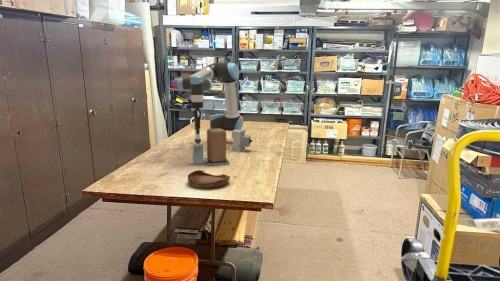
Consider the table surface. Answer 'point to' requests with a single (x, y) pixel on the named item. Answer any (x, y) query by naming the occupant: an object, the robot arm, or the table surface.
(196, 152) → the press
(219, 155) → the wooden block
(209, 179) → the broken brown bowl
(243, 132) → the circuit breaker
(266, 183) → the table surface
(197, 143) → the plunger
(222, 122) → the robot arm
